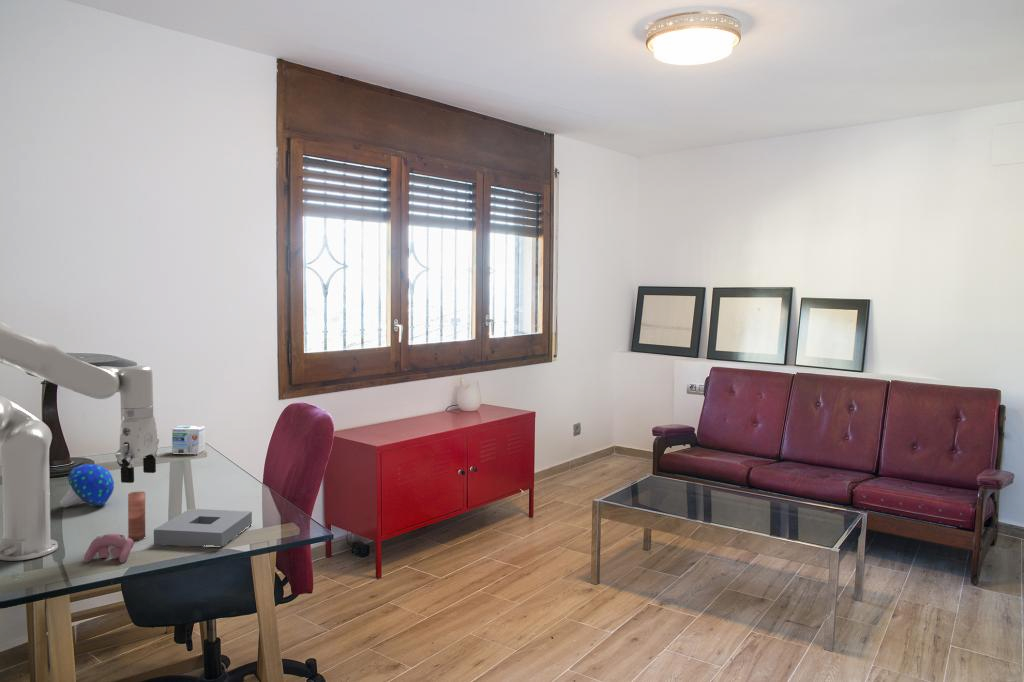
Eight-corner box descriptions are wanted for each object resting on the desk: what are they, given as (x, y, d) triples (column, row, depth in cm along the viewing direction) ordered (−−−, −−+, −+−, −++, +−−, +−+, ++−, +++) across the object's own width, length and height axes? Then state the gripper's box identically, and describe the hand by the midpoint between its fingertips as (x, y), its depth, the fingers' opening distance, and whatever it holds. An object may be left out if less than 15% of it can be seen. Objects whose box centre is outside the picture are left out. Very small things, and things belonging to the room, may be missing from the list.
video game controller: (131, 564, 170) (138, 535, 172) (122, 562, 165) (129, 532, 168) (90, 563, 169) (97, 534, 172) (80, 562, 165) (88, 532, 168)
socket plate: (221, 548, 178) (221, 532, 178) (153, 544, 179) (153, 529, 179) (251, 525, 196) (251, 511, 196) (190, 522, 197) (190, 508, 197)
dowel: (139, 541, 181) (139, 496, 180) (124, 540, 181) (124, 495, 181) (148, 535, 185) (148, 491, 184) (134, 535, 185) (134, 491, 185)
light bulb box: (171, 455, 276) (171, 428, 275) (178, 451, 283) (178, 425, 282) (199, 455, 277) (199, 428, 276) (205, 451, 284) (205, 425, 283)
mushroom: (46, 478, 209) (92, 447, 213) (80, 508, 216) (124, 477, 220) (42, 500, 197) (91, 466, 201) (78, 531, 204) (125, 498, 208)
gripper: (131, 419, 173) (132, 487, 174) (169, 408, 190) (170, 469, 191) (102, 419, 173) (104, 486, 174) (142, 407, 190) (144, 468, 191)
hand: (138, 477), depth 183 cm, fingers open, 9 cm apart
